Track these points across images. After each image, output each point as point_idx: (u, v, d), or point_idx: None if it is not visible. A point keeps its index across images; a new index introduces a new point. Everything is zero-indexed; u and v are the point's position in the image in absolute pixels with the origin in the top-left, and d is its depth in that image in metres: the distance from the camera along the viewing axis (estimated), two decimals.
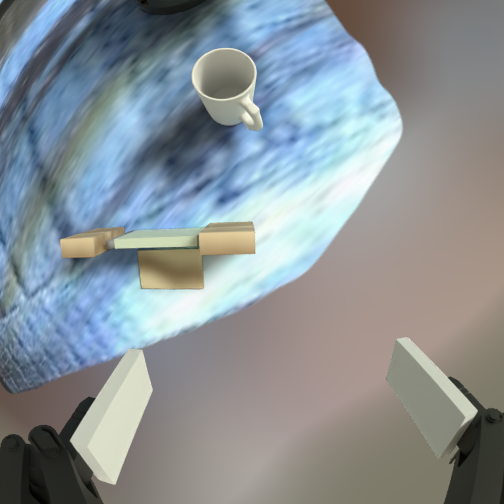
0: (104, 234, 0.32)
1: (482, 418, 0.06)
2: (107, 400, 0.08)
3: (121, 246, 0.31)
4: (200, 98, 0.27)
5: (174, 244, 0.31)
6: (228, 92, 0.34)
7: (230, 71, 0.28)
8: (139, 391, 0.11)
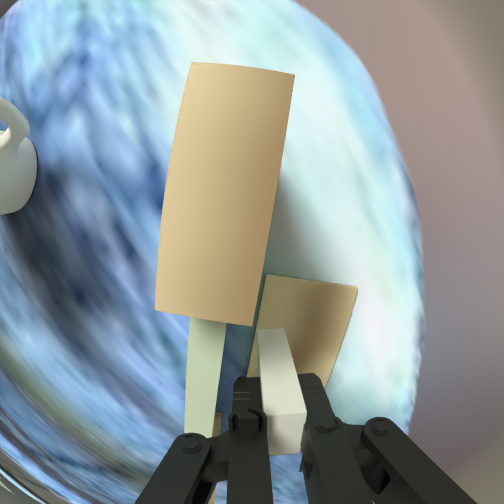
0: None
1: (310, 430, 0.07)
2: (274, 372, 0.10)
3: None
4: None
5: (211, 376, 0.09)
6: None
7: None
8: None
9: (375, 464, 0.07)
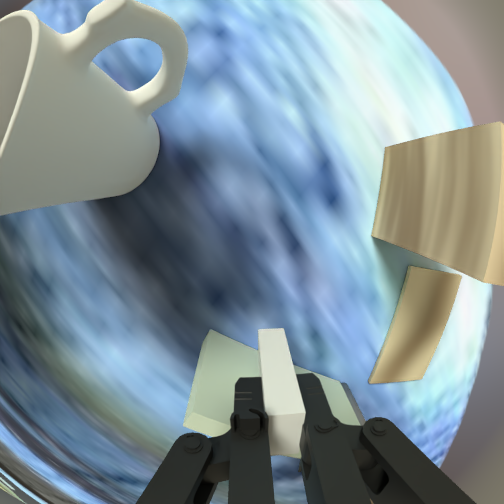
0: None
1: (309, 430, 0.07)
2: (275, 372, 0.10)
3: None
4: (43, 202, 0.07)
5: None
6: None
7: None
8: None
9: (374, 464, 0.07)
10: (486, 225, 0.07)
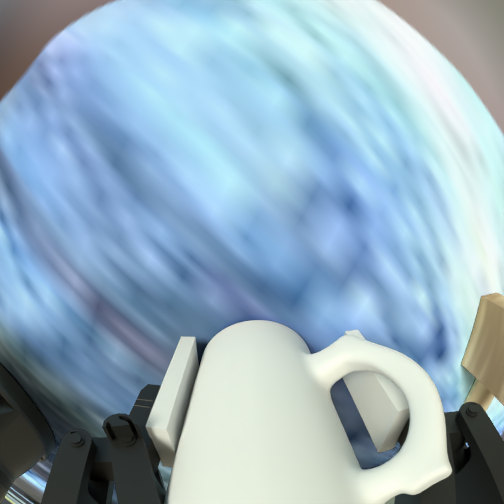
0: None
1: None
2: (174, 384, 0.10)
3: None
4: None
5: None
6: None
7: None
8: (193, 376, 0.12)
9: (459, 447, 0.06)
10: None
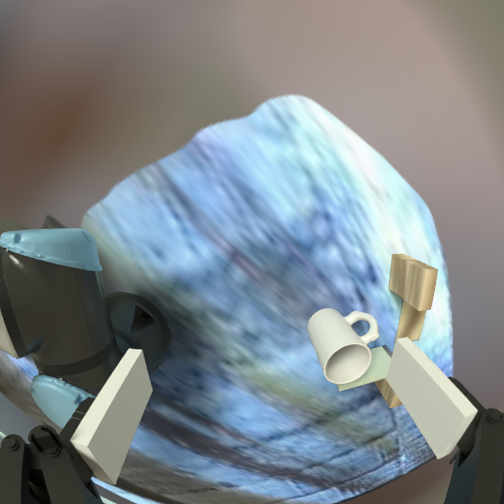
0: None
1: (482, 418, 0.06)
2: (107, 400, 0.08)
3: None
4: (348, 365, 0.36)
5: (355, 382, 0.37)
6: None
7: None
8: (139, 391, 0.11)
9: None
10: (419, 297, 0.33)
